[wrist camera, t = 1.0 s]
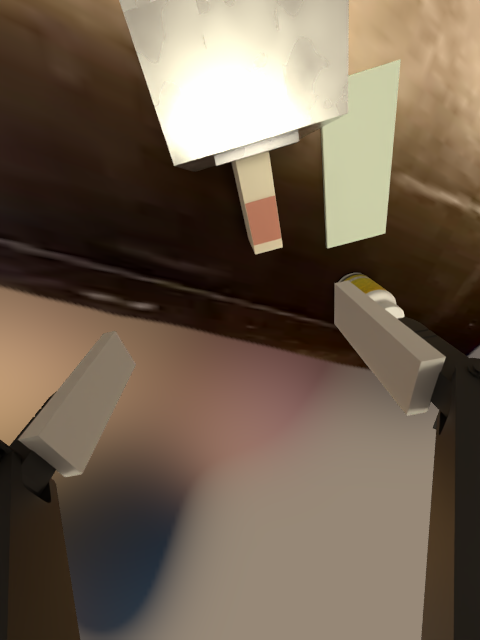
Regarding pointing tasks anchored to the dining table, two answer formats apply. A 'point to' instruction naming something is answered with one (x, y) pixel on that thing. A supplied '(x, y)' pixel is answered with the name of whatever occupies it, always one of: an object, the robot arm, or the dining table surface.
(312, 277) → the dining table surface
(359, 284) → the supplement bottle
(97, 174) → the dining table surface
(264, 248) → the cream rectangular block
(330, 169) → the pad
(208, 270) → the dining table surface
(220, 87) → the plate
